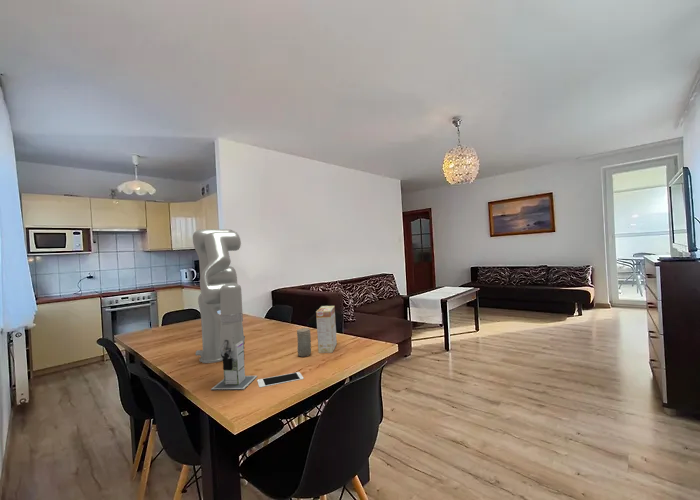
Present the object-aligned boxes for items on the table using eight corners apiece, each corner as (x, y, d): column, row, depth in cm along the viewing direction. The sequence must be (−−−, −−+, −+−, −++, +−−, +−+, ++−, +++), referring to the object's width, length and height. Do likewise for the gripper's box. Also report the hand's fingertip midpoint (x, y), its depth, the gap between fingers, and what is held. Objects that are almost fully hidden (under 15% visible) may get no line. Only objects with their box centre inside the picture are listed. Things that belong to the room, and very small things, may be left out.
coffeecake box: (323, 344, 166) (321, 306, 167) (337, 343, 166) (335, 305, 166) (317, 353, 151) (315, 311, 152) (332, 352, 151) (330, 310, 151)
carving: (298, 358, 145) (296, 331, 145) (297, 353, 153) (296, 327, 153) (312, 356, 146) (310, 330, 147) (311, 352, 154) (309, 326, 154)
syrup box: (245, 379, 122) (243, 340, 123) (238, 385, 116) (236, 344, 117) (231, 379, 123) (229, 340, 123) (223, 385, 117) (221, 345, 117)
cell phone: (257, 381, 122) (256, 379, 122) (299, 373, 128) (299, 371, 128) (259, 388, 114) (259, 387, 114) (304, 380, 120) (304, 378, 120)
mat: (211, 390, 114) (210, 388, 114) (227, 377, 126) (227, 376, 126) (243, 390, 113) (243, 388, 113) (257, 376, 125) (257, 375, 125)
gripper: (233, 314, 129) (235, 357, 129) (209, 323, 112) (212, 373, 112) (251, 313, 128) (253, 357, 128) (230, 323, 111) (233, 373, 111)
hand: (234, 364), depth 120 cm, fingers open, 9 cm apart
